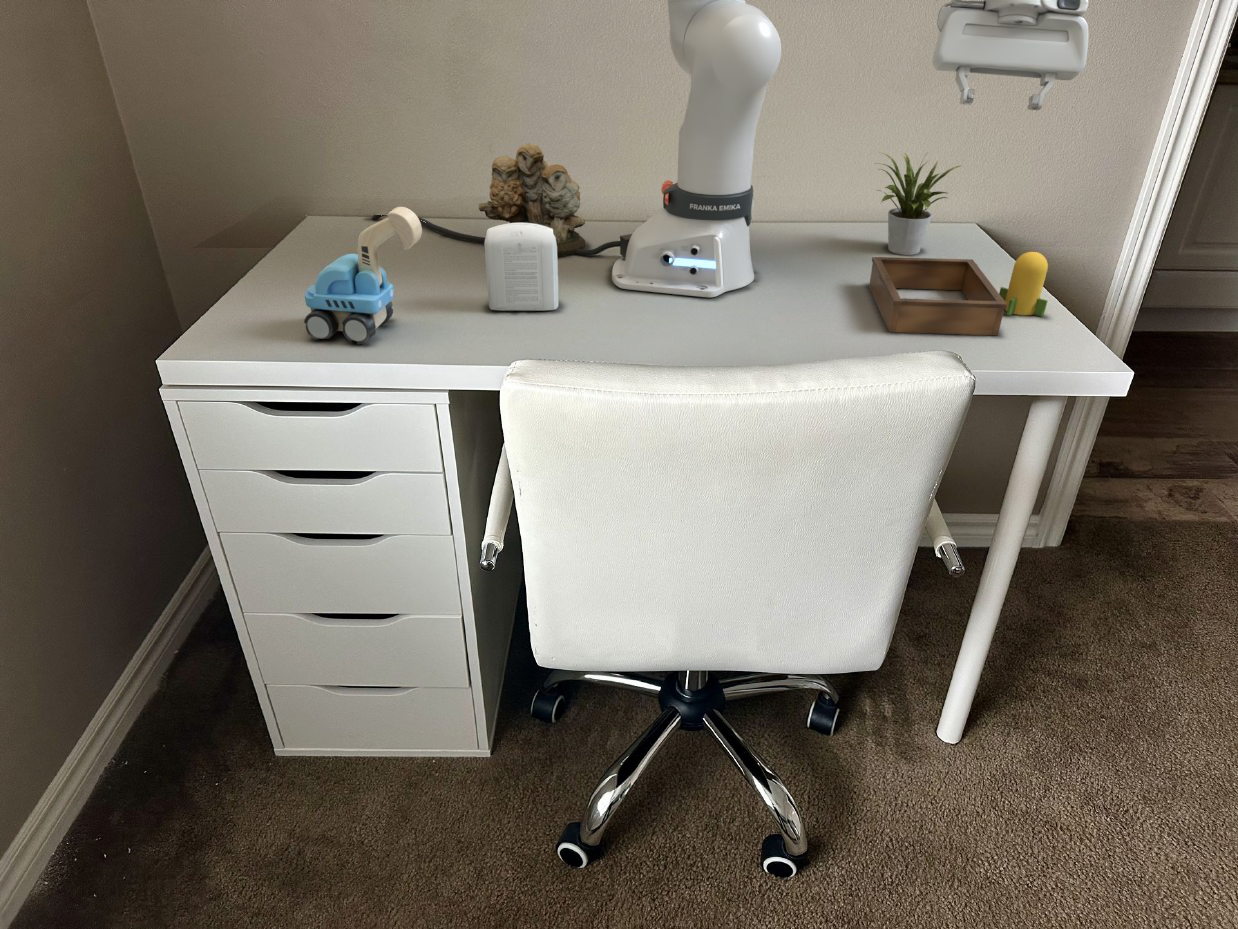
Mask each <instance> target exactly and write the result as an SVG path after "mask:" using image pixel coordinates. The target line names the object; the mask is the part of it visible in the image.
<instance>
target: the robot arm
mask: <svg viewBox="0 0 1238 929" xmlns="http://www.w3.org/2000/svg"><path fill="white" fill-rule="evenodd" d="M1088 7H1089V0H951V2H947V3H945V4H944V5H942V6H941V7H940V9H939V11H938V16H937V22H936V24H937V29H938V31H939V34H938V37H937V39H936V43H935V47H934V51H933V56H932V61H931V63H932V65H933V67H934V69H935V70H936V71H940V72H952V73H953V72H955V78H954V80H955V83H956V85H957V87H958V90H959V92H960V99H959V105H964V106H971V105H972V104H973V102H974V99H975V97H974V95H975V92H976V89H975V88H970V86H969V84H968V83H969V82H968V81H967V78H968V77H969V76H970V74H978V75H979V74H980V75H990V76H991V75H994V76H1006V77H1016V78H1017V77H1019V78H1032V79H1039V80H1040V81H1039V86H1040V87H1042V88H1041V89H1040V90H1039V92H1037V93H1033V94H1032V95H1031V96H1029V97H1028V105H1027V110H1030V111H1040V110H1041V109H1042V108H1043V103H1044V98H1045V95H1046V94H1047V93H1048V92H1049V91H1050V90H1051V88H1052V87H1053V85H1054V84H1055V83H1056V80H1057V81H1072V80H1073V79H1074V78H1076V77H1078V76H1079V75H1080V74H1081V73H1082V72H1083V71H1084V70H1085V67H1086V65H1087V60H1088V52H1089V41H1090V40H1089V39H1090V38H1089V36H1090V35H1089V34H1090V33H1089V32H1090V30H1089V24H1088V22H1087V20H1086V19H1085V18H1084V15H1085V13H1086V12H1087V10H1088ZM667 9H668V10H667V12H668V20H669V27H670V28H669V43H670V47H671V51H672V54H673V56H674V58H675V59H674V60H676V63H677V64H678V66H679V68H681V69H682V71H684V72H685V73H686V74H687V75H689V76H690V90H689V95H688V100H687V105H686V110H685V113H684V118H683V121H682V124H681V125H680V128H679V129H678V130H679V131H678V148H677V149H678V150H677V151H678V152H677V153H678V154H677V180H676V181H677V182H676V183H674V182H673V181H672V180H665V181H664V182H663V183H662V184H661V193H662V195H663V196H662V207H663V208H662V209H661V210H659V211H658V212H657V213H656V214H654V215H653V216H651V217H650V218H649V219H647V220H646V221H645V222H643V223H642V224H640V225H639V226H638V227H636V228H635V230H633V232H632V233H629V234H623V235H619V240H613V241H608V242H606V243H603V244H601V245H599V246H597V247H594V248H591V249H585V248H584V249H576V250H575V251H574V253H573V254H574V255H578V256H595V255H598V254H601V253H602V252H604V251H605V250H608V249H613V248H619V255H621V256H620V257H619V258H617V260H615V261H614V264H613V266H612V270H611V280H612V282H613V285H615V286H616V287H618V288H620V289H624V290H631V291H641V292H651V293H661V294H672V295H680V296H690V297H699V298H715V297H718V296H721V295H722V294H724V293H726V292H730V291H734V290H738V289H742V288H744V287H746V286H748V285H750V284H751V283H752V282H753V281H754V280H755V272H754V268H753V262H752V256H751V243H750V242H751V241H750V225H751V222H752V220H753V212H754V200H755V199H754V198H755V194H754V187H753V185H752V178H753V177H752V176H753V165H754V152H755V142H756V133H757V129H758V123H759V119H760V116H761V111H762V108H763V105H764V101H765V97H766V93H767V90H768V87H769V83H770V81H771V80H772V79H773V77H774V76H775V74H776V72H777V70H778V68H779V65H780V62H781V58H782V42H781V38H780V35H779V32H778V30H777V28H776V27H775V26H774V24H773V22H772V21H771V20H770V18H768V16H767V15H766V14H765V13H764V11H762V10H761V9H760V8H758V7H755V6H754V5H751V4H748V3H747V2H746V0H667ZM382 217H388V216H387V215H382V216H381V215H375V214H373V215H372V216H371V219H370V220H371V221H378V220H379V219H380V218H382ZM417 217H418V219H419V221H420V223H421V225H423V226H424V227H426V228H428V229H431V230H432V231H434V232H438V233H439V234H443V235H445V236H449V237H451V238H456V239H459V240H462V241H463V240H464V241H468V242H473V243H479V244H484V243H485V238H486V236H484V237H483V236H477V235H472V234H466V233H462V232H457V231H454V230H451V229H448V228H445V227H442V226H439V225H437V224H435V223H433V222H430V221H428V220H427V219H424V218H423V217H419V216H417ZM421 220H422V221H421ZM423 221H425V222H426V223H425V222H423Z"/></svg>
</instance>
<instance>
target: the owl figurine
mask: <svg viewBox="0 0 1238 929" xmlns="http://www.w3.org/2000/svg"><path fill="white" fill-rule="evenodd" d="M544 158H545V155H544V152H543V151H542V149H541V148H540V146H539V145H537V144H535V143H531V142H527V143H525V144H522V145H521V146H520V147H518V149H517V151H516V155H515V159H514V158H512V157H510V156H509V155H500V156H498V157H496V158H494V159H493V161H492V164H491V180H490V181H491V183H490V184H489V199H490V200H487V202H483V203H478V211H480V212H484V214H485V217H487V218H488V219H490V220H494V221H502V222H506V224H508V223H533V224H538V225H543V226H546V227H549V228H551V229H553V234H554V236H555V238H556V243H557V258H560V257H566V256H571V255H573V254H574V251H575V250H576V249H584V250H585V249H586V246H587V244H586V239H585V238H584V237H583V236H581V234H580V232H577V231H575V230H576V229H579V228H581V227H583V226H585V224H586V219H585V218H584V217H582V216H577V215H575V214H576V213H577V212H578V211H579V209H580V207H581V191H579V190H580V189H581V188H580V185H579V183H577V182H576V181H575V180H573V179H572V177H571V175H570V174H569V172H568V171H567V169H566V168H565V166H564V165H561V164H550V165H549V164H548V162H547V161H546V160H545V159H544Z"/></svg>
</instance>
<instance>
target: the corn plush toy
mask: <svg viewBox="0 0 1238 929" xmlns="http://www.w3.org/2000/svg"><path fill="white" fill-rule="evenodd" d="M1048 269H1049V263H1048V260H1047V258H1046V257H1045V256H1044V255H1043V254H1042V253H1040V252H1037V251H1028V252H1025V253H1022V254H1020V255H1019V256H1018V258H1017V259H1016V260H1015V261H1014V265H1013V268H1012V272H1011V276H1010V281H1009V284H1008V288H1007V287H1003V286H1001V287H1000V289H999V292H998V293H999V294H1000V296H1001V297H1002V298H1003V300H1004V301H1005V302H1006V304H1007V307H1006V308H1005V309H1004V311H1006V312H1005V316H1007V317H1010V316H1011V315H1013V314H1014V315H1017V316H1033V315H1035V316H1037V317H1041V318H1043V317H1044V316H1045V313H1046V309H1047V305H1048V300H1047V299H1045V298H1044V299H1043V298H1041V296H1042V291H1043V289H1044V284H1045V280H1046V277H1047V273H1048Z"/></svg>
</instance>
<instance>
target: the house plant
mask: <svg viewBox="0 0 1238 929" xmlns="http://www.w3.org/2000/svg"><path fill="white" fill-rule="evenodd" d="M878 153H880V154H881V155H885V156H886V157H888V158H889V159H890V161H891V162H892V164H893V166H894V168H893V167H892V166H890V165H888V164H885V163H882V165H883V166H886V167H888V168H889V169H890V170H891V171H892V172H893V173H894V175H895V177H896V178H897V180H898V182H899V185H900V187H901V190H902V191H901V190H900V188H899V187H898V186H897V184H896V181H895V180H894V178H893V176H892V175H891V174H890V173H889V172H888V171H887V170H885V169H881V168H878V171H879V170H881V171H883V172H885V173H886V174H887V175H888V176H889V177H890V179H891V181H892V183H893V184H889V185H887V186H884V189H888V190H889V191H888V192H887V193H886V192H884V194H885V195H884V196H883V197H882V199H881V201H880V204H882V203H883V202H886V201H887V200H890V201H891V202H892V203H893V204H894V206H895V208H892V209H890V210H888V214H887V234H888V235H887V249H888V251H889V252H891V253H894V254H898V255H904V256H905V255H906V256H911V255H912V256H913V255H917V254H919V253H920V251H921V249H922V246H923V244H924V240H925V237H926V235H927V231H928V229H929V226H930V223H931V221H932V218H933V214H932V213H931V212H929V211H928V209H929V207H931V205H932V204H934V203H935V202H937V201H939V200H941V199H942V200H943V199H948V197H947V196H940V197H938V198H935V199H933V200H932V201H930V199H931V198H932V197H934V196H938V195H943V194H948V192H946V191H931V189H932V188H933V187H934V186H935V185H936V184H937V183H938V182H939V181H940V180H942V179H943V178H944V177H945V176H947V175H948V174H949V173H950V172H951V171H953V170H955V169H957V168H959V167H961V165H957V166H953V167H951V168H949V169H947V170H946V171H944V172H943V173H942V172H941V173H936V174H934V173H935V171H936V168H937V166H938V161H936V162H935V164H934V165H933V167H932V168H931V170H930V171H929V173H928V175H927V176H926V178H925V179H924V181H923V182H921V183H918V180H919V176H920V174H921V171H922V169H923V167H924V166H925V165H926V164H927V163H928V162H930V160H931V159H929V160H928V161H926V162H924V159H925V158H926V156H927V155H928V153H925V155H924V157H923V158H922V160H921V162H920V164H919V166H918V169H917V171H916V172H914V169H913V167H912V164H911V160H910V157H909V156H908V154H907V153H904V155H902V156H903V159H904V161H905V166H906V167H905V168H906V170H905V173H904V174H903V177H902V175H901V171H900V168H899V166H898V165H897V162H896V161H895V159H894V158H893V157H892V156H890V155H888V154H886V153H884V152H880V151H879V152H878ZM923 162H924V164H922V163H923ZM875 164H876V165H880V163H879V162H878V163H877V162H874V165H875ZM903 178H904V181H903ZM917 184H918V185H917ZM876 191H879V192H881V190H879V189H876ZM890 192H891V193H892V194H889V193H890ZM893 198H896V199H897V201H898V204H899V206H898V204H896V202H895V201H894V200H893ZM924 207H925V208H924Z"/></svg>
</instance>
